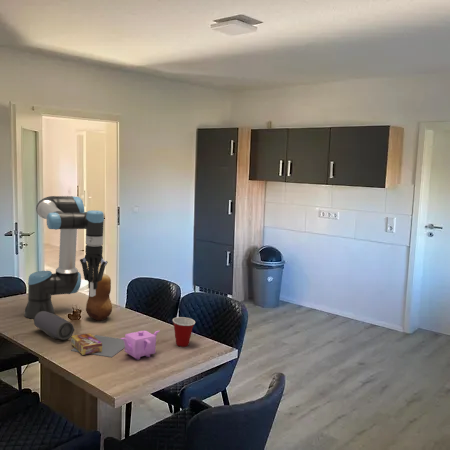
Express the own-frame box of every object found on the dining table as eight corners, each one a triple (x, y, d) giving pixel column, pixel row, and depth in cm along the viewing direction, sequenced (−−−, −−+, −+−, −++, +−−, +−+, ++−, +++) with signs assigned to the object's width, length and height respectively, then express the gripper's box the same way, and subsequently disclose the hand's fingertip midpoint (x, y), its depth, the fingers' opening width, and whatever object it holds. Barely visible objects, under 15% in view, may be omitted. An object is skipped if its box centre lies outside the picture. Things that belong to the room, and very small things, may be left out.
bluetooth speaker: (75, 340, 234) (75, 319, 233) (56, 344, 227) (57, 323, 226) (50, 327, 249) (50, 308, 248) (32, 331, 242) (32, 311, 241)
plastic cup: (188, 350, 229) (189, 325, 228) (167, 346, 232) (168, 321, 231) (197, 343, 239) (199, 318, 238) (177, 339, 243) (178, 315, 241)
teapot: (130, 347, 228) (131, 324, 227) (159, 350, 226) (160, 327, 225) (119, 360, 213) (120, 335, 212) (149, 363, 211) (150, 338, 210)
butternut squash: (115, 317, 272) (117, 272, 269) (105, 324, 259) (107, 277, 256) (91, 314, 274) (93, 270, 271) (80, 321, 261) (81, 274, 258)
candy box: (71, 344, 227) (82, 355, 215) (71, 335, 227) (82, 345, 214) (90, 341, 232) (102, 352, 220) (90, 332, 232) (102, 342, 220)
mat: (70, 350, 220) (70, 350, 220) (95, 335, 241) (95, 334, 241) (111, 357, 215) (111, 356, 215) (133, 341, 237) (133, 340, 237)
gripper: (76, 244, 223) (75, 296, 226) (103, 247, 220) (101, 299, 222) (85, 242, 230) (84, 292, 233) (111, 245, 227) (109, 295, 230)
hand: (92, 295), depth 228 cm, fingers closed
